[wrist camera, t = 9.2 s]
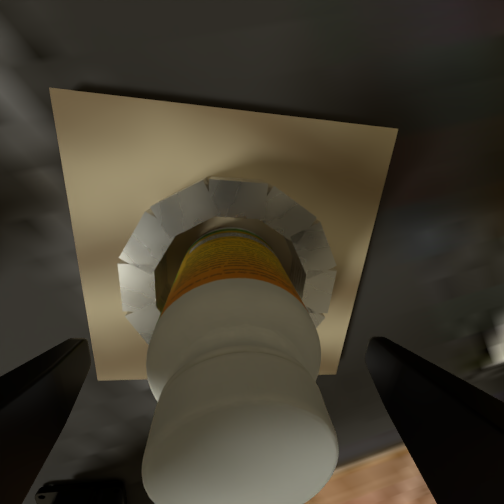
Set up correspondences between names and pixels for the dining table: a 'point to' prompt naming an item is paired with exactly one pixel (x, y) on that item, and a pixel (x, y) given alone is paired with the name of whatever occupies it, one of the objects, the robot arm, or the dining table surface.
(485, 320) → the dining table surface
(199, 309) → the supplement bottle
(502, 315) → the dining table surface
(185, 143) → the birch base plate
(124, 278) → the steel ring collar
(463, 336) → the dining table surface
